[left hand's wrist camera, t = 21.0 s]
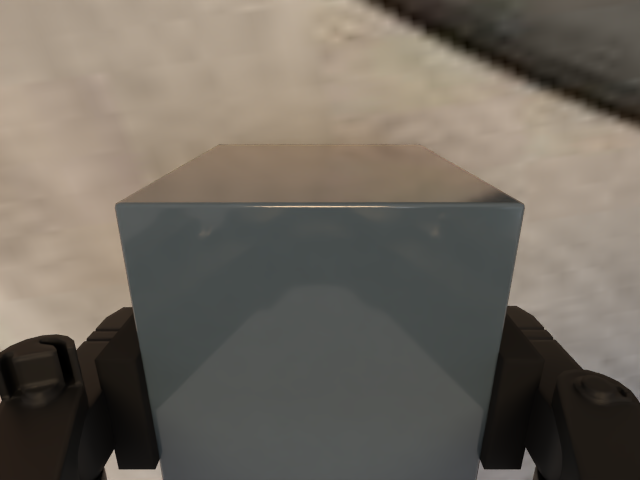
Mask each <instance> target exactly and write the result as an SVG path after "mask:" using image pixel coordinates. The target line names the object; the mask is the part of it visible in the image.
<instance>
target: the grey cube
mask: <svg viewBox="0 0 640 480" xmlns="http://www.w3.org/2000/svg"><path fill="white" fill-rule="evenodd" d="M524 209H525V208H524V204H523V203H521V202H520V201H518V200H516V199H514V198H513V197H511V196H509V195H508V194H506V193H504V192H502V191H501V190H499V189H497V188H495V187H494V186H492V185H490V184H488V183H487V182H485V181H483V180H481V179H480V178H478V177H476V176H474V175H473V174H471V173H469V172H467V171H466V170H464V169H462V168H460V167H459V166H457V165H455V164H453V163H452V162H450V161H448V160H446V159H445V158H443V157H441V156H439V155H438V154H436V153H434V152H432V151H431V150H429V149H427V148H425V147H424V146H422V145H420V144H219V145H217V146H216V147H214V148H212V149H210V150H209V151H207V152H205V153H203V154H202V155H200V156H198V157H196V158H195V159H193V160H191V161H189V162H188V163H186V164H184V165H182V166H181V167H179V168H177V169H175V170H174V171H172V172H170V173H168V174H167V175H165V176H163V177H161V178H160V179H158V180H156V181H154V182H153V183H151V184H149V185H148V186H146V187H144V188H142V189H141V190H139V191H137V192H135V193H134V194H132V195H130V196H128V197H127V198H125V199H123V200H121V201H120V202H118V203H116V205H115V211H116V216H117V222H118V228H119V233H120V239H121V245H122V250H123V256H124V262H125V267H126V273H127V279H128V284H129V290H130V296H131V301H132V307H133V313H134V318H135V324H136V330H137V335H138V341H139V347H140V352H141V358H142V363H143V369H144V375H145V380H146V386H147V391H148V397H149V403H150V408H151V414H152V420H153V425H154V431H155V437H156V442H157V448H158V454H159V460H160V466H161V471H162V477H163V480H476V479H477V474H478V468H479V462H480V456H481V450H482V445H483V439H484V433H485V428H486V422H487V416H488V411H489V405H490V399H491V394H492V388H493V382H494V377H495V371H496V365H497V360H498V354H499V350H500V344H501V338H502V333H503V327H504V321H505V316H506V310H507V304H508V299H509V293H510V288H511V282H512V276H513V271H514V265H515V259H516V254H517V248H518V243H519V237H520V231H521V226H522V220H523V214H524Z"/></svg>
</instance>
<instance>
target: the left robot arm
mask: <svg viewBox="0 0 640 480" xmlns="http://www.w3.org/2000/svg"><path fill="white" fill-rule="evenodd" d="M0 396H1V399H2V401H1V403H0V480H107V477H106V472H105V468H104V466H105V464H106V462H107V461H108V459H109V457H110V455H111V454H112V452H113V450H115V454H116V459H117V463H118V467H119V469H156V466H157V464H158V462H159V454H158V448H157V442H156V437H155V431H154V425H153V420H152V414H151V408H150V403H149V397H148V391H147V386H146V380H145V375H144V369H143V363H142V358H141V352H140V347H139V341H138V335H137V330H136V324H135V318H134V313H133V307H123V308H122V309H120V310H118V311H117V312H115V313H113V314H111V315H110V316H108V317H106V319H105V320H104V321H103V322H102V323H101V324H100V325H99V326H98V327H97V328H96V331H94V332H93V333H92V334H91V335H90V336H89V337H88V338H87V341H84V342H83V343H82V345H81V346H80V347H79V348H78V349H77V350H76V347H75V343H74V340H72V339H71V338H69V337H68V336H63V335H57V334H55V335H43V336H38V337H34V338H30V339H26V340H24V341H21V342H19V343H16V344H14V345H12V346H10V347H8V348H6V349H5V350H3V351H2V352H0ZM525 447H526V449H527V451H528V452H529V454H530V456H531V458H532V459H533V461H534V463H535V465H536V468H535V472H534V476H533V480H640V403H639V401H638V399H637V398H636V397H635V395H634V394H633V393H632V392H631V390H629V389H628V388H626V387H625V386H624V385H622V384H621V383H620V382H618V381H616V380H614V379H612V378H610V377H608V376H606V375H603V374H600V373H596V372H593V371H589V370H583V369H582V368H581V367H580V366H579V365H578V364H577V363H576V361H575V360H574V359H573V358H572V357H571V356H570V355H569V354H568V353H567V352H566V351H565V350H564V349H563V347H562V346H561V345H560V344H559V343H558V342H557V341H556V340H553V337H552V336H551V335H550V333H549V332H548V331H547V330H544V327H543V326H542V325H541V324H540V323H539V322H538V321H537V319H536V318H535V317H534V316H532V315H531V314H529V313H527V312H526V311H524V310H522V309H521V308H519V307H517V306H507V310H506V316H505V321H504V327H503V333H502V338H501V344H500V350H499V354H498V360H497V365H496V371H495V377H494V382H493V388H492V394H491V399H490V405H489V411H488V416H487V422H486V428H485V433H484V439H483V445H482V450H481V456H480V460H481V463H482V465H483V467H484V469H521V465H522V461H523V456H524V452H525Z"/></svg>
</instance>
